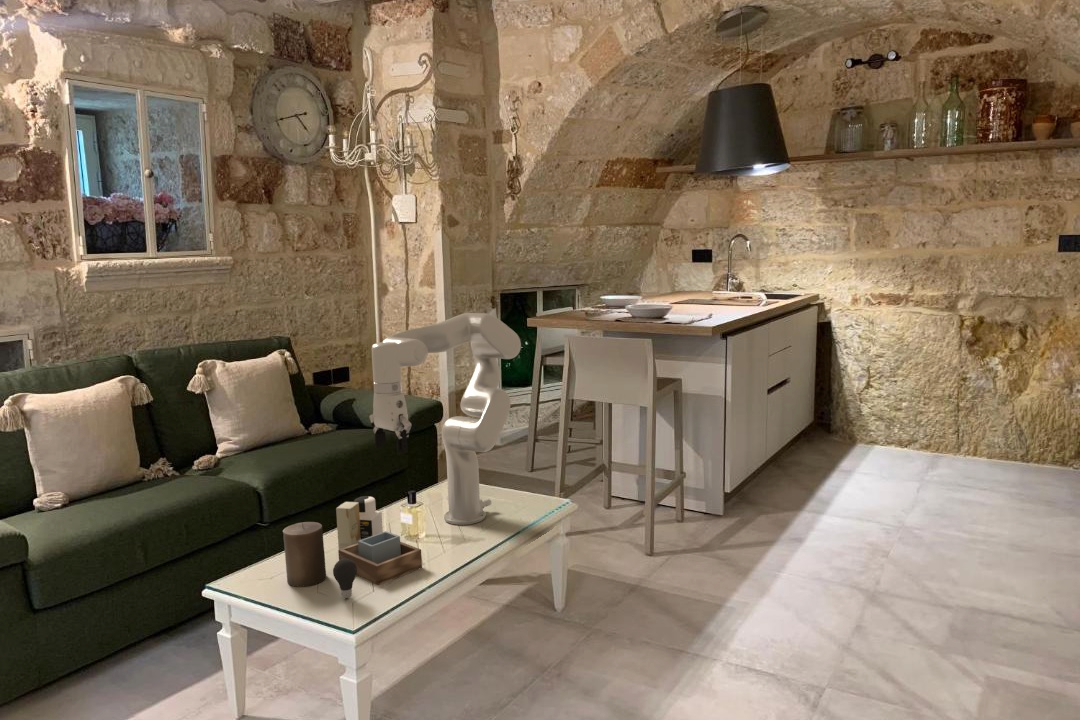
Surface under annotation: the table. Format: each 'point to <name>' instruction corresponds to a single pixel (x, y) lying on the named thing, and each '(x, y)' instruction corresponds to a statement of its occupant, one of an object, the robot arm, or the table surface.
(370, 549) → the grey crate
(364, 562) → the walnut crate
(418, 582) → the table surface
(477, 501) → the robot arm
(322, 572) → the pillar candle
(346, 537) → the skincare box
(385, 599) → the table surface
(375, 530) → the medicine bottle
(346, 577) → the light bulb
